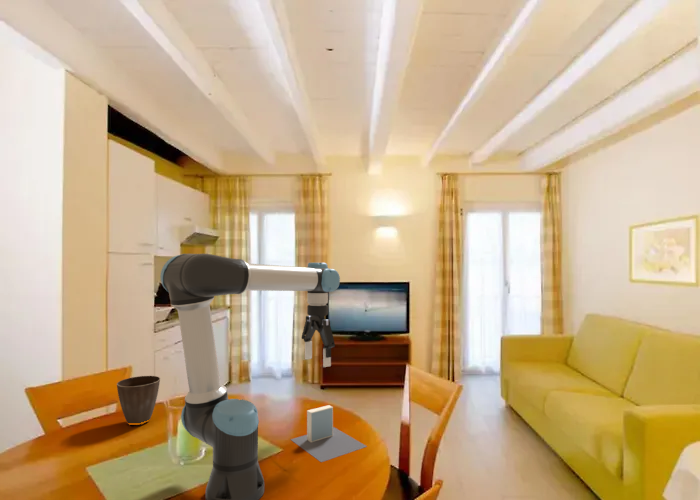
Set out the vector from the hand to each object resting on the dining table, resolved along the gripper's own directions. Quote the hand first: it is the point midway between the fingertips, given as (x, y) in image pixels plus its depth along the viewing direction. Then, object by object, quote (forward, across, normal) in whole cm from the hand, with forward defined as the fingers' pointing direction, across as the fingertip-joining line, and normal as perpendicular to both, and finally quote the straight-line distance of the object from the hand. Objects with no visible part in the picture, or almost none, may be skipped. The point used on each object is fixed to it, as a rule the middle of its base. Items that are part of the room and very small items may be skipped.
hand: (317, 362), depth 151 cm
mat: (+25, -12, +2) cm, 28 cm away
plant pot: (+25, +46, +52) cm, 75 cm away
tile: (+24, -6, +2) cm, 25 cm away
